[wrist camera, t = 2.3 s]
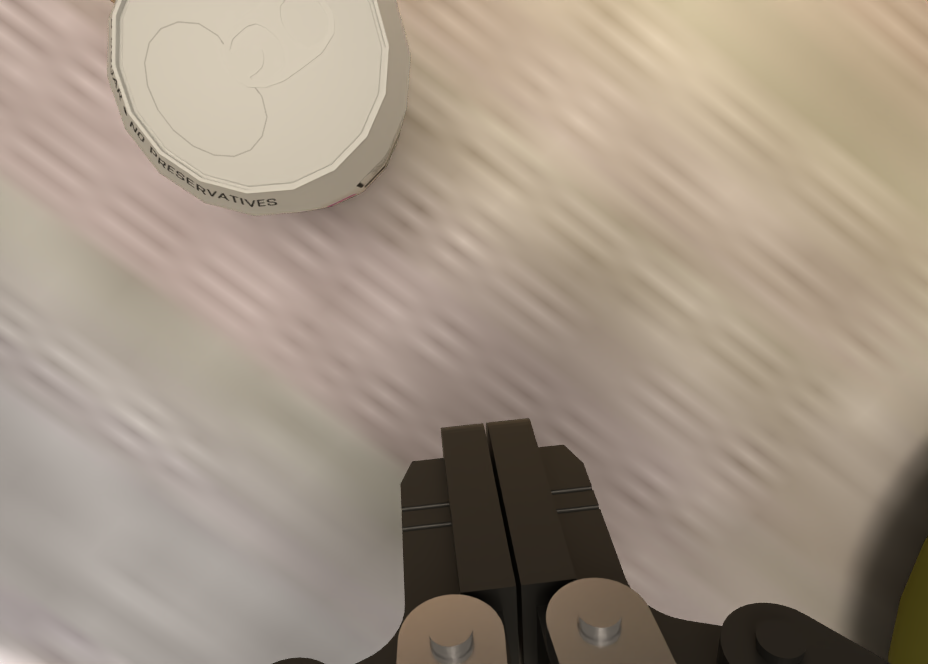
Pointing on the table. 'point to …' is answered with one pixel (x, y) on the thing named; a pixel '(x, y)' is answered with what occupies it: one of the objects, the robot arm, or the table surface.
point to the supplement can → (262, 96)
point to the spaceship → (912, 617)
